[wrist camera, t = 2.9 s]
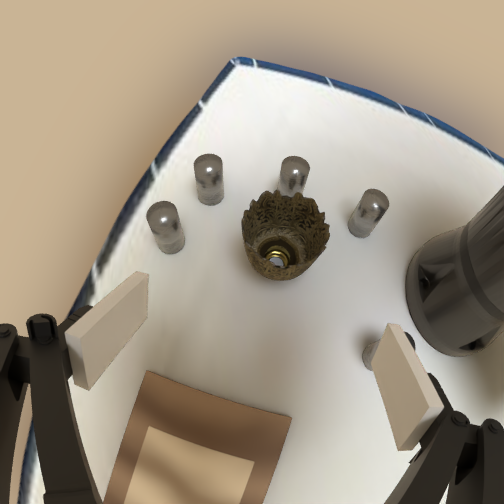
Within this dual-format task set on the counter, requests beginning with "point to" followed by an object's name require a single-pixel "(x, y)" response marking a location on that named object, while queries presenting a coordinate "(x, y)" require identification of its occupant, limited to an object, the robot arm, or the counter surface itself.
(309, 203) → the cup
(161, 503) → the walnut pad
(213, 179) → the spacer field
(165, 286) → the counter surface
